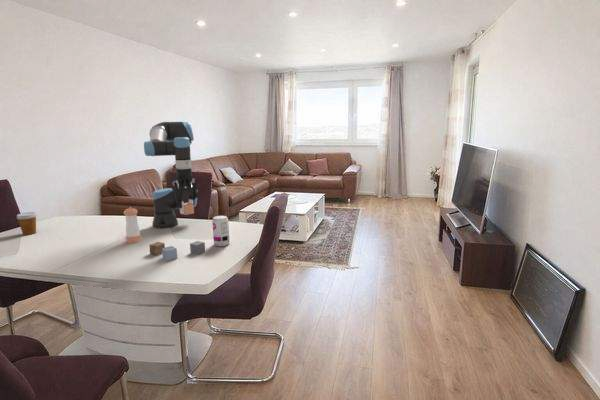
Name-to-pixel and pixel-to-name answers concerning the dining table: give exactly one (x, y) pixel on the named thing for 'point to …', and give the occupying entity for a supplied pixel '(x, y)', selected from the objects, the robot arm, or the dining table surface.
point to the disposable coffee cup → (27, 222)
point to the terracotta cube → (188, 208)
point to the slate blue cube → (169, 253)
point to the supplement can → (220, 230)
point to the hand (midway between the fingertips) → (187, 212)
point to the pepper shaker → (132, 226)
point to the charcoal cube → (197, 247)
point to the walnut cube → (156, 248)
